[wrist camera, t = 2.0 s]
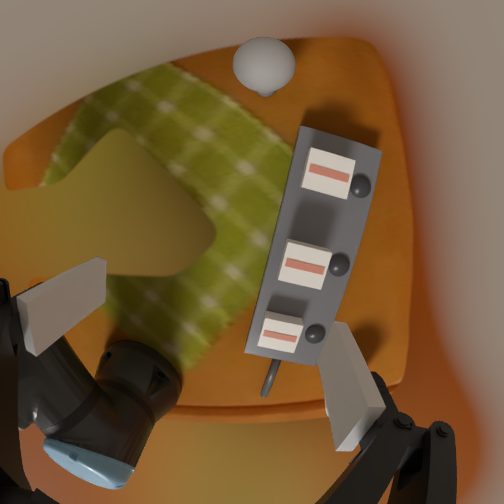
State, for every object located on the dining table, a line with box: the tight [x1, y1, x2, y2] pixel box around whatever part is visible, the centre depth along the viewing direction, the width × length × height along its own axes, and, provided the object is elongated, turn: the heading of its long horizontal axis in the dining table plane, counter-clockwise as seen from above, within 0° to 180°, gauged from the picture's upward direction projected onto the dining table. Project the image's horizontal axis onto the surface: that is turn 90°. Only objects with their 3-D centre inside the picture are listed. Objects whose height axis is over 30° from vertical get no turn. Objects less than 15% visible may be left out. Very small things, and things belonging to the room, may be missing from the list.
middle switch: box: [278, 238, 332, 290], centre depth 28 cm, size 5×4×2 cm
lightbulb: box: [233, 37, 295, 97], centre depth 24 cm, size 6×6×11 cm
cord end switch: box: [257, 311, 303, 353], centre depth 32 cm, size 5×4×2 cm
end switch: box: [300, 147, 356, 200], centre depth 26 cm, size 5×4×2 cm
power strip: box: [244, 126, 382, 398], centre depth 34 cm, size 10×39×3 cm, turn 167°
